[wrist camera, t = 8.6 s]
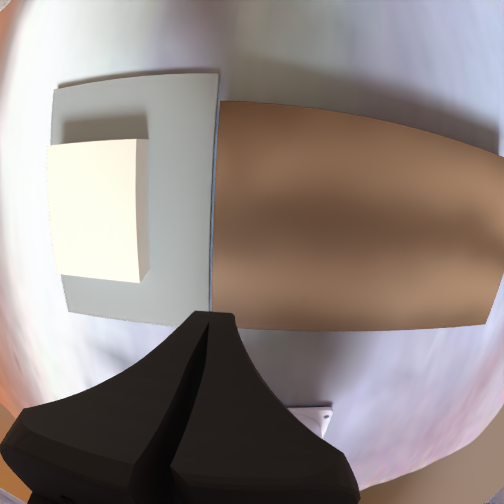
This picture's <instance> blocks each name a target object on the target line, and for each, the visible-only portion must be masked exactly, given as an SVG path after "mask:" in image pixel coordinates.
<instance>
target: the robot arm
mask: <svg viewBox="0 0 504 504" xmlns="http://www.w3.org/2000/svg"><path fill="white" fill-rule="evenodd" d="M332 414H333V409H332V408H331V407H311V408H286V407H285V406H284V405H283V404H282V403H281V402H280V400H279V399H278V398H277V397H276V396H275V395H274V393H273V392H272V391H271V390H270V388H269V387H268V386H267V384H266V383H265V382H264V380H263V379H262V377H261V376H260V374H259V373H258V371H257V370H256V368H255V366H254V365H253V363H252V361H251V360H250V358H249V356H248V354H247V352H246V350H245V347H244V345H243V343H242V341H241V338H240V336H239V333H238V330H237V326H236V322H235V315H234V314H233V313H226V312H210V311H196V310H195V311H194V312H193V313H191V314H190V315H189V316H188V317H187V319H186V320H185V321H184V322H183V323H182V324H181V325H180V326H179V327H178V328H177V329H176V330H175V331H174V332H173V333H172V334H170V335H169V336H168V337H167V338H166V339H165V340H164V341H163V342H162V343H161V344H160V345H158V346H157V347H156V348H155V349H154V350H152V351H151V352H150V353H149V354H147V355H146V356H145V357H144V358H142V359H141V360H140V361H138V362H137V363H135V364H134V365H132V366H131V367H129V368H128V369H126V370H124V371H123V372H121V373H119V374H118V375H116V376H114V377H112V378H110V379H108V380H106V381H104V382H102V383H100V384H98V385H96V386H94V387H92V388H90V389H87V390H85V391H83V392H80V393H78V394H75V395H72V396H69V397H67V398H64V399H60V400H57V401H54V402H50V403H46V404H42V405H38V406H34V407H30V408H24V409H23V410H22V412H21V413H20V414H19V416H18V417H17V419H16V421H15V422H14V424H13V425H12V427H11V428H10V430H9V431H8V433H7V434H6V436H5V438H4V439H3V441H2V442H1V444H0V453H1V455H2V457H3V459H4V461H5V462H6V463H7V465H8V466H9V467H10V468H11V469H12V471H13V472H14V473H15V474H16V475H17V476H18V477H19V478H20V479H21V480H22V481H23V482H24V483H25V484H26V485H27V486H28V487H29V488H30V490H32V494H31V496H30V498H29V501H28V503H25V502H24V501H22V500H20V499H18V498H16V497H15V496H13V495H11V494H10V493H8V492H6V491H5V490H3V489H1V488H0V504H358V502H359V500H360V494H359V488H358V484H357V481H356V478H355V476H354V474H353V471H352V469H351V467H350V465H349V463H348V461H347V459H346V457H345V455H344V453H342V452H341V451H339V450H338V449H336V448H335V447H333V446H332V445H330V444H329V443H327V442H326V441H324V440H323V437H324V434H325V432H326V429H327V427H328V424H329V422H330V419H331V416H332ZM484 504H504V488H502V489H501V490H499V491H498V492H497V493H496V494H495V495H494V496H492V497H491V498H490V499H489V501H488V502H486V503H484Z"/></svg>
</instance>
